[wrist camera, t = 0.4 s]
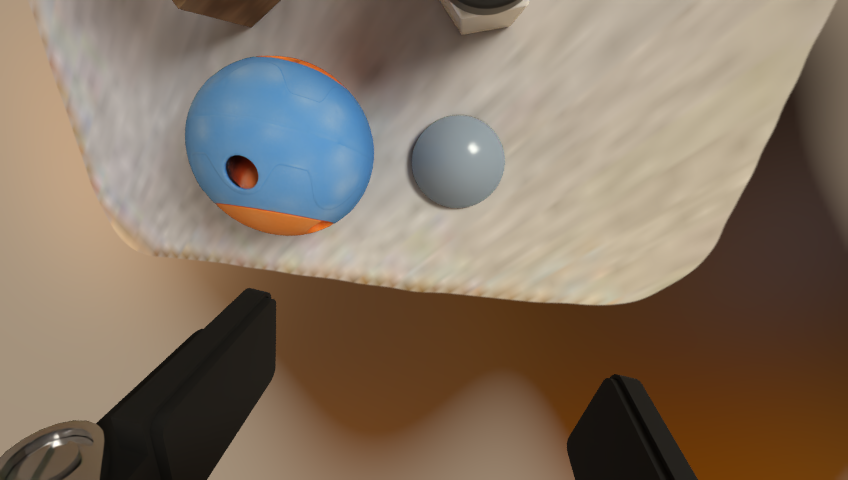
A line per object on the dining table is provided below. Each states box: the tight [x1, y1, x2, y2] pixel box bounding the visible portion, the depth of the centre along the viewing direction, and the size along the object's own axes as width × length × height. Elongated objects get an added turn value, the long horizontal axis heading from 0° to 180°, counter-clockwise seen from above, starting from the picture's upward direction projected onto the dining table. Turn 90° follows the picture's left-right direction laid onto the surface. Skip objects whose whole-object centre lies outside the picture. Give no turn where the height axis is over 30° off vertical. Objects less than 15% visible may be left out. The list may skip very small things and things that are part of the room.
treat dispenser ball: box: [185, 56, 374, 236], centre depth 31 cm, size 16×15×15 cm
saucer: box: [412, 115, 505, 208], centre depth 37 cm, size 10×10×1 cm
